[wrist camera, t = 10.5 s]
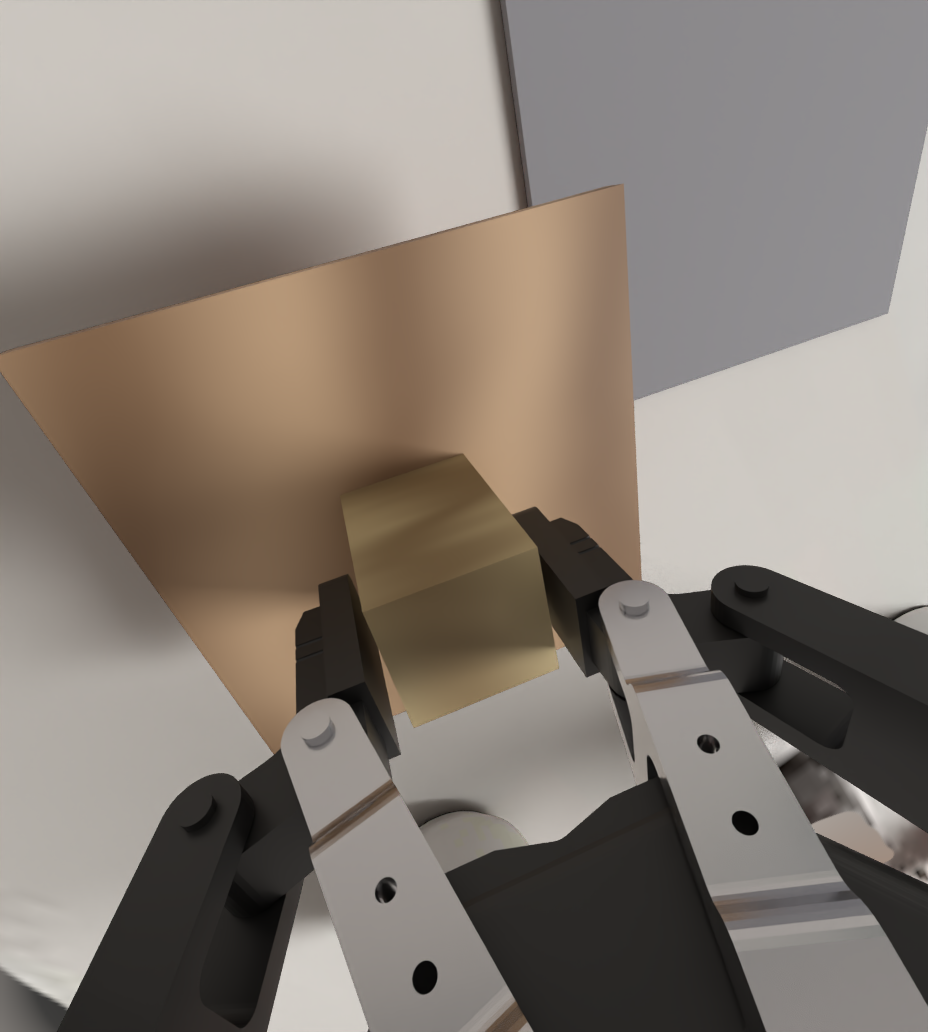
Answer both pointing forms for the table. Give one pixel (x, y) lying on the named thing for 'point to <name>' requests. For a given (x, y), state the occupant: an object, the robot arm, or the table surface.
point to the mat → (730, 159)
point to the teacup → (468, 837)
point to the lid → (366, 448)
